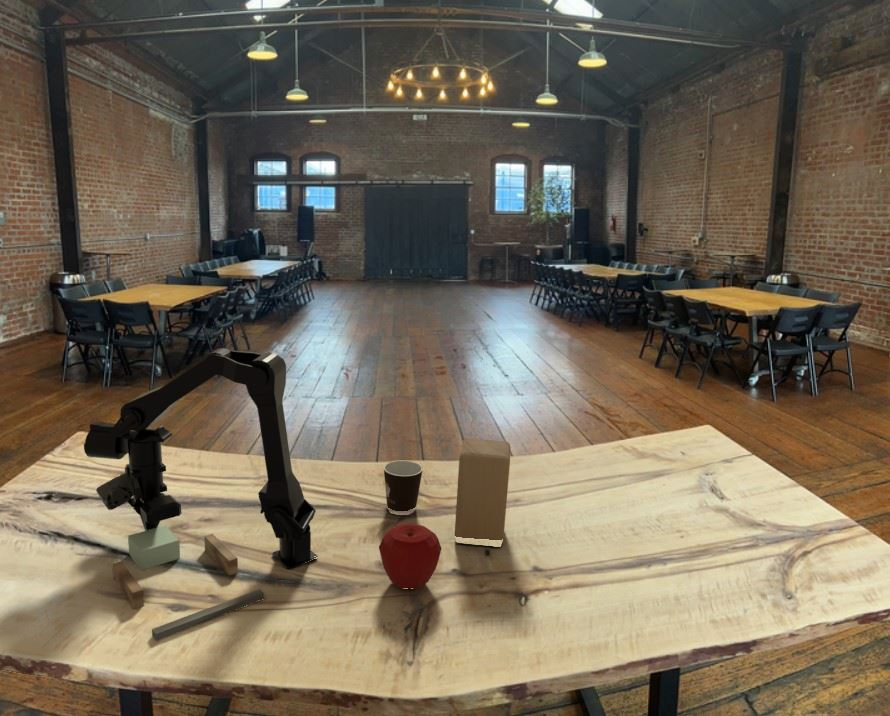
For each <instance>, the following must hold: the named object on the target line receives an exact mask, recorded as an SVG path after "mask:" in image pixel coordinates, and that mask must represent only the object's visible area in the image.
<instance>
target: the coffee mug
mask: <svg viewBox="0 0 890 716" xmlns="http://www.w3.org/2000/svg"><path fill="white" fill-rule="evenodd" d="M383 474H384V485H385V499H386V507H387V506H388V508H390V509H392V510H395V511H408V510H410V509H413V508H415V507H416V508H417V505H418V499H419V492H420V487H421V482H422V481H421V480H422V476H423V466H422V465H421V464H420V463H418V462H416V461H412V460H402V459H400V460H393V461H389V462H387V463H385V464H384V465H383Z"/></svg>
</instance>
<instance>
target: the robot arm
mask: <svg viewBox="0 0 890 716" xmlns="http://www.w3.org/2000/svg"><path fill="white" fill-rule="evenodd" d="M215 376H221V377H224V378H225V379H227V380H229V381H232V382H234V383H236V384H241V385H245V387H246V388H245V389H246V391H247V394H248V396H249V397H250V399H251V400H252V402H253V403H254V405H255V406H256V408H257V416H258V420H259V421H258V422H259V429H260V436H261V442H262V448H263V455H264V460H265V461H264V463H265V469H266V475H267V482H266V483H265V484H264V485H263V486H262V488H261V489H260V490H259V492H258V499H259V502H260V505H261V506H260V508H261V509H260V514H263V516H264V519H265V521H266V522H267V523H269V524H270V525H271V528H272V530H273V533H274V535H275V538H277V539H279V541H278V542H279V550H275V551H272V553H271V554H272V556H273V558H274V559H276V560H277V561H278V560H279V561H280V562H281V563H282V564H281V563H280V562H279V561H278V562H279V563H280V564H281V565H282V566H283V567H284V568H286V569H288V570H290V568H291V569H293V568H296V567H299V566H302V565H304V564H303V563H305V562H307V563H309V562H308V561H310V560H312V559H314V558H316V557H318V555H317V554H316V553H315V552H314V551H313V550H311V546H312V545H311V543H312V542H311V541H312V535H311V534H312V532H311V525H310V523H311V522H312V520H313V519H314V516H315V514H316V511H317V510H316V508H315V507H314V506H312V504H310V502H309V501H307V499H306V498H305V496H304V493H303V489H302V487H301V483H300V482H299V480H298V479H297V478H296V476H295V473H293V469H292V461H291V454H290V448H289V447H290V446H289V440H288V433H287V432H288V431H287V426H286V425H287V424H286V417H285V411H284V405H283V404H284V401H283V400H284V393H285V390H286V389H285V388H286V384H287V382H286V381H287V364H286V362H285V360H284V358H282V357H281V356H280V355H279V354H277V353H275V352H269V351H268V352H264V353H259V352H254V351H253V352H252V351H243V350H242V351H241V350H240V351H239V350H232V349H230V348H225V347H224V348H223V347H221V348H218V349H216V350H213V352H210V353H209V354H207V356H206V357H205V358H204V359H201V360H200V361H199V362H198V363H195V365H193V366H192V367H190V368H188V369H187V370H186V371H184V372H182V373H181V374H180V375H178V376H176V377H175V378H174V379H172V380H171V381H169V382H168V383H166V384H165V385H162V386H160V387H157V388H154V389H152V390H149V391H146V392H144V393H142V394H140V395H138V396H137V397H135V398H133V399H132V400H129V401H128V402H126V403H125V404H123V405H122V406H121V408H120V413H119V415H120V417H119V419H118V420H117V421H116V423H115V422H105V421H100V420H96V421H93V422H92V423H90V424H89V430H88V433H87V434H86V436H85V442H84V443H83V450H84V453H85V455H86V456H87V457H88V458H95V459H96V458H98V459H109V460H110V459H111V460H121V459H123V458H124V457H125V456H126V455H128V463H127V464H125V467H124V473H121V474H120V475H119V476H116V477H114V478H112V479H110V480H108V481H107V482H105V483H103V484H101V485H99V486H98V487H97V488H96V489H95V490H96V493H97V495H98V497H99V498H100V499H101V502H102V503H103V505H104V506H105V507H106V509H107V510H108V511H112V510H115V509H116V508H118V507H121V506H122V505H124V504H126V503H128V504H129V506H130V507H132V509H133V510H134V511H135V513H136V514H138V515H139V518H140V519H141V522H142V525H143V529H144V531H147V530H150V529H154V528H157V527H159V525H160V522H161V521H165V520H168V519H172V518H176V517H180V515H182V504H181V503H180V502H179V501H178V500H177V499H176V497H173V496H172V495H171V494H167V495H166V494H165V493H166V492H168V485H167V484H165V482H164V472H167V466H166V465H165V463H163V454H162V443H165V442H166V441H167V440H168V439H170V438H171V437H172V436H173V433H172V432H171V431H170V430H168V429H167V428H165V427H164V426H163V425H160V426H159V427H157V428H149V427H151V426H152V425H154V424H155V423H156V422H159V420H161V419H162V418H163V417H164V416H165V415H166V414H167V413H168V412H169V411H170V410H171V409H172V408H174V406H175V405H176V403H177V402H178V401H179V400H181V399H183V398H184V397H185V396H187V395H188V394H190V393H191V392H193V391H194V390H196V389H198V388H199V387H200V386H202V385H203V384H205V383H207V382H208V381H209V380H211V379H213V378H214V377H215ZM164 492H165V493H164ZM314 556H316V557H314ZM310 562H311V561H310ZM301 564H302V565H301ZM305 564H306V563H305ZM298 565H299V566H298Z"/></svg>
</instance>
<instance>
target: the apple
mask: <svg viewBox="0 0 890 716" xmlns="http://www.w3.org/2000/svg"><path fill="white" fill-rule="evenodd" d="M378 550H379V554H380V559H381V563H382V567H383V569H384V572H385V573H386V575H387V577H388V579H389V580H390V582H391V583H392V584H393V585H395V586H396V587H398V586H399V587H398V588H400V587H401V588H400V589H402V588H408V589H411V588H416V589H418V588H421V587H422V586H425V585H426V584H428V583H429V581H430V580H431V578H432V576H433V574H434V573H435V571H436V569H437V567H438V563H439V561H440V556H441V554H442V553H441V552H442V546H441V543H440V540H439V538H438V536H437V535H436V532H433V531H432V530H431V529H429V528H428V527H426V526H425V525H421V524H417V523H412V522H410V523H409V522H406V523H404V522H403V523H399V524H396V525H395V526H393V527H391V528H390V529H388V530H387V531H385V533H384V534H383V537H382V538H381V542H380V544H379V547H378ZM420 586H421V587H420ZM417 587H418V588H417Z"/></svg>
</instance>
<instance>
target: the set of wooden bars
mask: <svg viewBox="0 0 890 716" xmlns="http://www.w3.org/2000/svg"><path fill="white" fill-rule="evenodd" d="M204 551H205V552H206V553H207V554H208V555H209V556H210V557H211V558H212V559H213V560H214V562H215V563H217V564H218V565H219V566H220V567H221V569H223V571H224V572H225V573H226V574H227V575H228V576H233V575H235V574H238V573H239V570H238V569H239V567H238V566H239V565H238V562H239V561H238V560H239V559H238V557H237V556H236V555H235V554H234V553H233V552H232V551H231V550H230V549H229V548H228V547H227V546H226V545H225V544H224V543H223V541H220V539H219V538H217V536H216V535H214V534H213V533H211V534H207V535H204ZM111 566H112V577H113V578H112V579H113V581H114V582H115V583H116V585H117V586H118V588H119V590H120V591H121V592H122V593H123V595H124V596H125V598H126V599H127V601H128V603H129V604H130V605H131V607H132V608H133V610H135V609H137V608H140V607H143V606H145V604H144V603H145V602H144V601H145V600H144V590H143V589H144V588H143V587H142V586H141V585H140V584H139V582H138V581H137V580H136V578H135V577H134V575H133V574H132V573H131V571H130V570H129V568H128V567H127V565H126V564H125V563H124V562H123V560H120V561H117V562H113V563H112V565H111ZM262 599H264V600H265V592H263V591H262V589H261V588H259V589H256V590H253V591H251V592H248V593H245V594H243V595H240V596H237V597H234V598H232V599H228V600H227V601H223V602H221V603H219V604H216V605H212V606H210V607H207V608H205V609H202V610H199V611H196V612H195V613H191V614H188V615H186V616H183V617H181V618H178V619H175V620H173V621H170V622H167V623H164V624H162V625H158V626H156V627H154V628H151V636H152V638H153V639H154V641H155V642H157V641H159V640H163V639H165V638H167V637H168V638H169V637H170V636H172V635H176V634H178V633H181V632H183V631H186V630H189V629H191V628H193V627H196V626H199V625H201V624H203V623H204V624H205V623H206V622H209V621H211V620H215V619H216V618H217V619H218V618H219V617H222V616H224V614H225V613H227V614H229V612H230V611H233V612H235V611H237V610H236V609H238V610H239V608H240V609H242V608H241V607H243V608H245V607H244V606H246V605H248V606H250V605H249V604H251V603H253V604H255V603H254V602H256V601H258V600H261V601H263V600H262ZM258 602H259V601H258ZM256 603H257V602H256ZM251 605H252V604H251ZM246 607H247V606H246ZM234 610H235V611H234ZM230 613H231V612H230ZM225 615H226V614H225Z"/></svg>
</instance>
